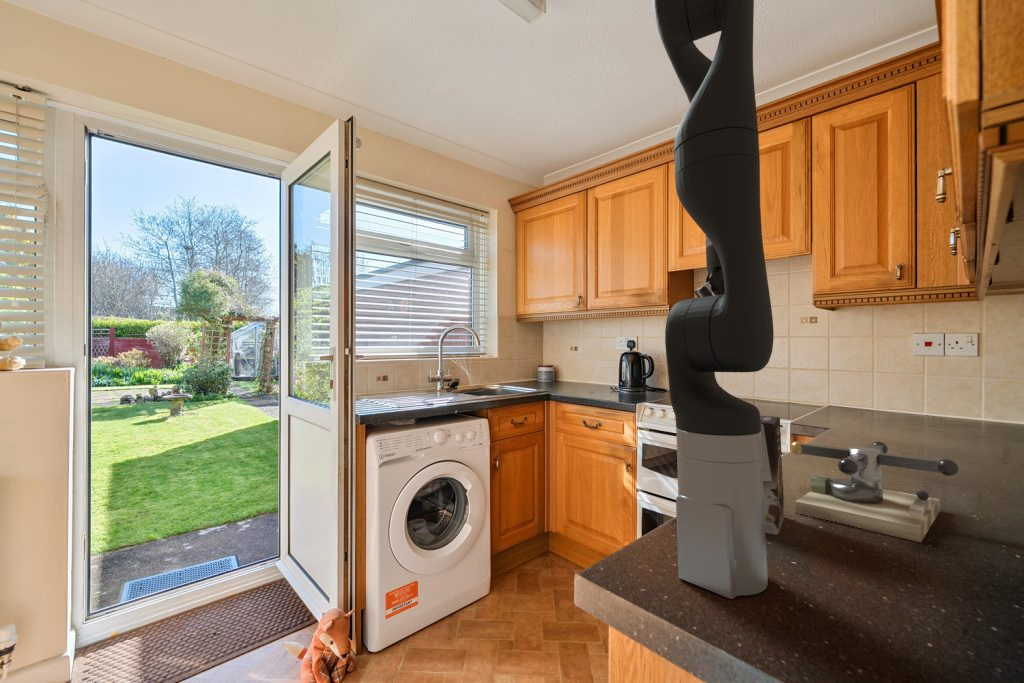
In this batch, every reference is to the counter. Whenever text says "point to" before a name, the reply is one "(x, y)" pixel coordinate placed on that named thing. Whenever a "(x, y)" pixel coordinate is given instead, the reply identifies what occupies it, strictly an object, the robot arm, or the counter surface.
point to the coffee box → (772, 474)
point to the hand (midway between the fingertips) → (732, 339)
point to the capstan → (869, 468)
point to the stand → (873, 510)
